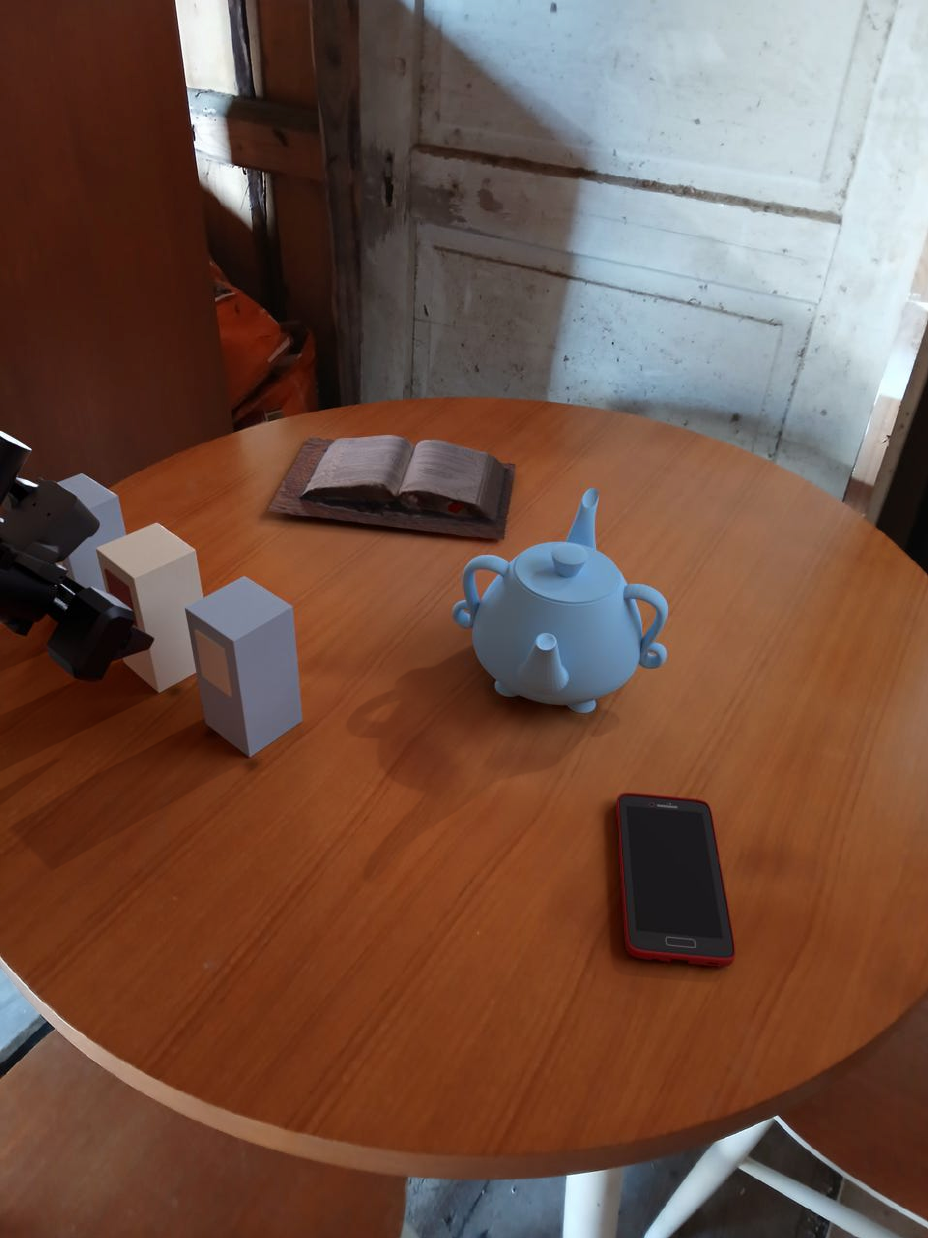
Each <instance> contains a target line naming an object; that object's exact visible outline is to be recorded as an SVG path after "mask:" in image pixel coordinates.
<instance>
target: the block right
mask: <svg viewBox="0 0 928 1238" xmlns="http://www.w3.org/2000/svg"><path fill="white" fill-rule="evenodd" d="M185 613H186V618H187V624H188V629H189V635H190V640H191V646H192V651H193V657H194V662H195V668H196V673H195V674H196V678H197V683H198V688H199V694H200V700H201V705H202V711H203V718H204V722H205V723H204V724H205V725H206V726H208V727H209V728H211V729H212V730H213V731H215V732H216V733H217V734H219V735H220V736H221V737H222V738H224V739H225V740H226V741H227V742H228V743H230V744H231V745H233V746H234V747H235V748H236V749H238V750H239V751H240V752H241V753H242V754H244V755H246V756H247V757H248V758H252V757H253V756H255V755H256V754H257V753H259V752H260V751H262V750H263V749H264V748H266V747H267V746H269V745H270V744H271V743H273V742H275V741H276V740H278V739H279V738H280V737H282V736H283V735H285V734H286V733H287V732H289V731H290V730H292V729H294V728H295V727H296V726H298V725H299V724H300V723H302V722H303V711H302V699H301V687H300V678H299V677H300V676H299V665H298V654H297V653H298V651H297V642H296V631H295V630H296V629H295V619H294V608H293V605H291V604H289V603H288V602H286V601H285V600H283V599H281V598H280V597H279V596H277V595H275V594H274V593H273V592H271V591H269V590H267V589H265V588H264V587H263V586H261V585H260V584H258V583H256V582H255V581H253V580H252V579H250V578H248V576H247V577H246V575H243V576H241V577H239V578H238V579H236V580H234V581H232V582H230V583H229V584H227V585H224V586H223V587H221V588H219V589H217V590H215V591H214V592H211V593H210V594H208V595H206V596H203V598H202V599H200V600H198V601H197V602H195V603H193V604H191V605H189V606H187V607H185Z"/></svg>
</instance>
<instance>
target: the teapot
mask: <svg viewBox="0 0 928 1238" xmlns="http://www.w3.org/2000/svg"><path fill="white" fill-rule="evenodd" d="M599 497H600V495H599V491H598V489H597V488H595V487H591V488H588V489H587V490H586V491H585V492H584V494H583V495H582V497H581V500H580V501H579V505H578V509H577V512H576V515H575V518H574V520H573V523H572V525H571V528H570V529H569V531H568V532H569V533H568V535H567V537H566V538H565V541H547V542H542V543H538V544H535V545H533V546H530V547H528V548H526V549H524V550H523V551H522V552H520V553H519V554H518V555H516V556H515V557H514V558H513V559H512V560H510V562H509V561H507V560H506V559H503V558H502V557H500V556H497V555H492V554H482V555H478V556H475V557H473V558H472V559H470V560H469V561H468V562H467V564H466V565H465V567H464V568H463V571H462V575H461V576H462V577H461V583H462V589H463V595H464V599H462V600H459V601H457V602H456V604H455V605H454V606H453V608H452V613H451V614H452V615H451V616H452V619H453V621H454V622H455V623H456V624H457V625H458V626H459V627H461V628H463V629H467V630H470V629H472V633H471V640H472V641H471V642H472V646H473V649H474V652H475V655H476V657H477V659H478V661H479V663H480V664H481V666H482V667H483V668H484V669H485V671H487V673H488V674H489V675H490V676H491V677H492V678H493V679H494V680H495V682H494V690H495V691H496V693H498V694H499V695H501V696H504V697H507V698H508V697H509V698H512V697H517V696H520V697H522V698H525V699H528V700H530V701H534V702H537V703H542V704H548V705H556V706H567V707H568V708H569V709H570V710H571V711H573V712H575V713H580V714H587V713H591V712H592V711H594V710H595V708H596V706H597V703H596V700H598V699H600V698H603V697H605V696H607V695H610V694H611V693H613V692H615V691H617V690H618V689H620V688H622V687H623V686H624V685H625V684H626V683H627V682H628V681H629V680H630V678H632V676H633V675H634V673H635V672H636V671H637V670H638V667H639V666H640V667H642V668H644V669H647V670H655V669H658V668H661V667H662V666H663V665H664V664H665V662H667V661H666V660H667V657H668V652H667V648H666V647H665V646H664V645H663V644H662V643H659V642H655V641H656V640H657V638H658V637H659V635H660V634H661V632H662V630H663V629H664V627H665V625H666V622H667V620H668V616H669V615H668V614H669V606H668V602H667V600H666V598H665V597H664V595H663V594H662V593H661V592H660V591H658V590H657V589H656V588H653V587H652V586H650V585H646V584H643V583H629V584H628V582H627V580H626V579H625V577H624V575H623V573H622V571H621V570H619V568H618V566H617V565H616V564H615V562H614V561H612V559H610V558H609V557H608V556H607V555H605V554H604V553H602V552H601V551H599V550H597V543H596V529H595V527H596V525H595V524H596V513H597V508H598V505H599ZM480 570H483V571H485V570H486V571H491V572H493V573H495V574H497V575H496V577H495V578H494V579H493V581H492V582H491V583H490V584H489V586H488V587H487V589H486V590H485V592H484V593H483V596H482V598H481V600H480V597H479V593H478V590H477V585H476V580H475V579H476V578H475V573H476V571H480ZM636 600H638V601H642V602H644V603H647V604H649V605H650V606H652V607H653V608H654V610H655V617H654V620H653V622H652V624H651V625H650V627H649V628H648V629H647V631H646V633H645V634H644V635H643V625H642V617H641V613H640V609H639V607H638V604H637V601H636ZM464 610H465V611H468V613H467V612H465V611H464ZM649 652H650V653H649ZM651 653H652V654H651ZM653 653H654V654H653Z"/></svg>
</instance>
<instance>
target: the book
mask: <svg viewBox="0 0 928 1238" xmlns="http://www.w3.org/2000/svg"><path fill="white" fill-rule="evenodd" d="M516 466H517V464H516V463H512V462H506V463H505V462H500V461H499V460H498V459H497V458H496V457H495V456H494V455H492V454H490V453H489V452H486V451H482V450H481V451H480V450H477V449H474V448H470V447H467V446H462V445H460V444H455V443H451V442H448V441H443V440H439V439H422V440H420V441H419V442H418V443H417V444H416V445H414V443H412V442H410V441H409V440H408V439H407V438H405V437H401V436H397V435H393V434H385V435H384V434H383V435H373V436H364V437H349V438H347V437H340V438H337V439H331V438H325V439H324V438H320V437H318V438H316V437H311V436H309V437H307V439H306V441H305V443H304V445H303V446H302V449H301V450H300V451H299V453H298V455H297V457H296V459H295V460H294V462H293V464H292V466H291V467H290V470H289V471H288V472H287V475H286V476H285V478H284V480H283V481H282V483H281V486H280V487H279V489H278V490H277V491H276V494H275V496H274V497H275V498H273V499H272V501H271V502H270V504H269V506H268V509H267V511H268V512H273V513H279V514H290V515H293V516H305V517H315V518H321V519H333V520H338V521H344V522H353V523H362V524H367V525H375V526H386V527H390V528H399V529H407V530H409V529H410V530H416V531H421V532H434V533H442V534H453V535H457V536H462V537H470V538H473V537H478V538H479V537H480V538H482V539H489V540H490V539H495V540H502V541H505V535H506V533H505V532H506V528H507V527H506V526H507V524H508V523H507V522H508V516H509V513H510V510H509V509H510V504H511V498H512V492H513V488H514V480H515V474H516ZM451 504H461V505H463V506H462V508H461V509H460V510H459V512H458V513H455V512H453V511H452V512H451V511H449V506H450V505H451ZM467 509H468V510H467Z"/></svg>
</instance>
